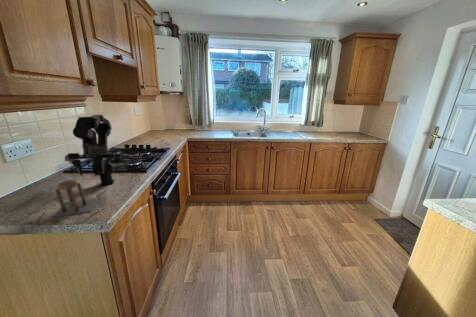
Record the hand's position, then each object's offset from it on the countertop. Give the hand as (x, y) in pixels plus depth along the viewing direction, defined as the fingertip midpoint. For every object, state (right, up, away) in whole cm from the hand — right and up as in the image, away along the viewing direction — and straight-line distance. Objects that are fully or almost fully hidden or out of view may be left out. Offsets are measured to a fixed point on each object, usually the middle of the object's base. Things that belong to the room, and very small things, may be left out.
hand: (93, 174), depth 96 cm
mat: (-4, -15, -4) cm, 16 cm away
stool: (-4, -15, -5) cm, 16 cm away
